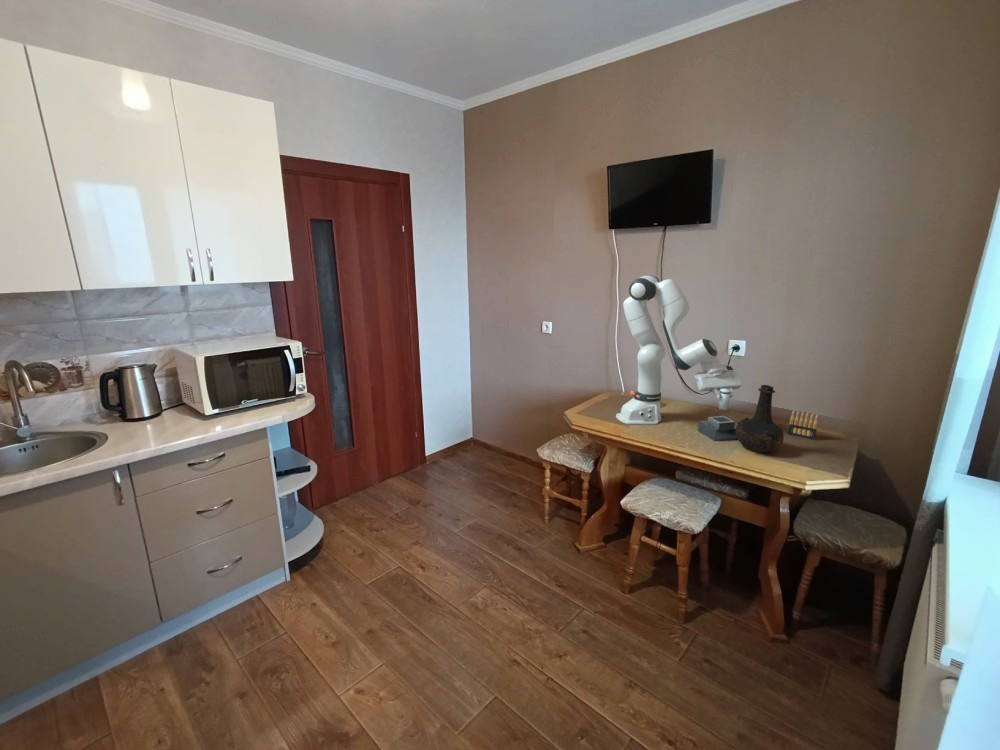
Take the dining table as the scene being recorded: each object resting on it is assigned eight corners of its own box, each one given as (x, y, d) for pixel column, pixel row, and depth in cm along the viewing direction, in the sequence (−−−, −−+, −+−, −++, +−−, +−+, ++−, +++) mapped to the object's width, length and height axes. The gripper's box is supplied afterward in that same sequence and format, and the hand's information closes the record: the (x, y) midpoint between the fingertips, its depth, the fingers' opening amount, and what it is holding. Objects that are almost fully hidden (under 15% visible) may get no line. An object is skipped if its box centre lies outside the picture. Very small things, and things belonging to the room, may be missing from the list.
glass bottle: (742, 436, 200) (750, 377, 193) (787, 448, 187) (797, 385, 180) (726, 447, 188) (735, 385, 181) (773, 461, 175) (784, 394, 168)
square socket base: (714, 440, 195) (716, 425, 193) (697, 430, 207) (699, 416, 205) (742, 438, 198) (744, 422, 196) (724, 428, 209) (726, 414, 207)
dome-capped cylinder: (722, 410, 197) (724, 390, 194) (716, 407, 200) (718, 388, 198) (730, 409, 197) (732, 390, 195) (724, 406, 201) (726, 387, 199)
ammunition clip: (787, 434, 202) (791, 409, 199) (787, 433, 204) (792, 408, 201) (815, 440, 195) (819, 414, 192) (815, 438, 197) (820, 413, 194)
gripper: (696, 369, 200) (708, 395, 193) (737, 366, 203) (749, 392, 196) (690, 376, 205) (700, 402, 198) (729, 373, 208) (741, 399, 201)
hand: (725, 397), depth 197 cm, fingers closed on dome-capped cylinder, 4 cm apart
